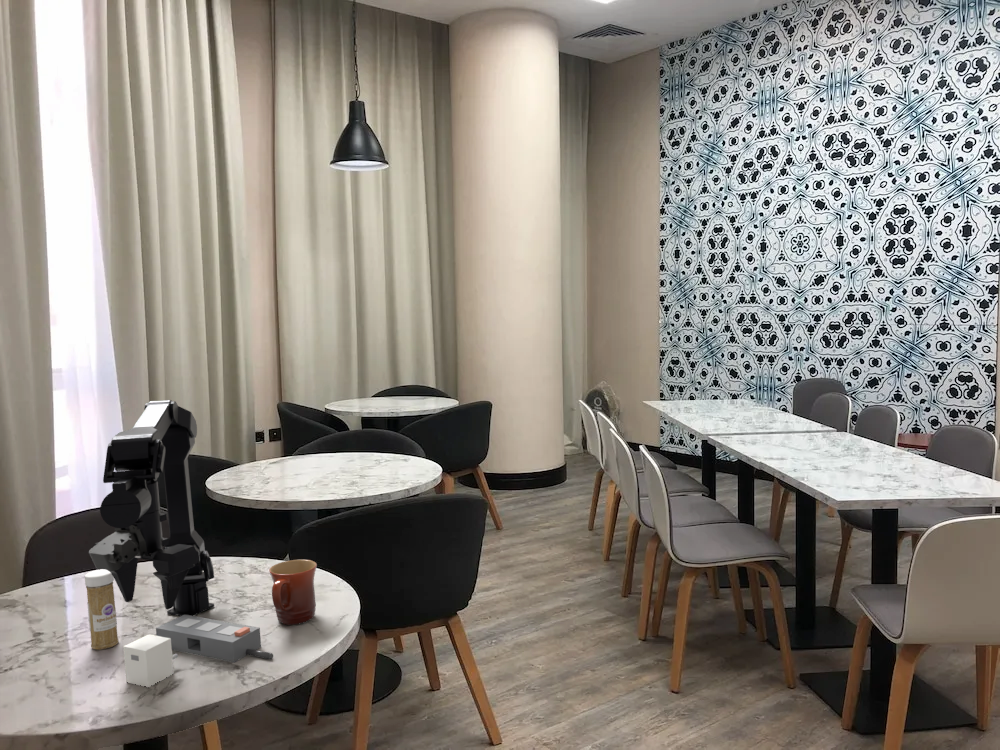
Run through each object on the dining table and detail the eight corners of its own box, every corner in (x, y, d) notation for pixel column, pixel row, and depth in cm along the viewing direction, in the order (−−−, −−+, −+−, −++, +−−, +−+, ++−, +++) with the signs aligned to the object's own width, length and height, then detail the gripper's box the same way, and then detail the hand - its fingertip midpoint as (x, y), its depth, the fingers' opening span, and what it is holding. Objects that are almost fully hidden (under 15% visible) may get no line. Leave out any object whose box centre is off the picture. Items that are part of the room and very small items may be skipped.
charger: (125, 682, 128) (122, 646, 127) (163, 663, 134) (160, 628, 134) (148, 687, 126) (145, 651, 125) (185, 667, 132) (182, 632, 132)
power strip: (157, 646, 141) (155, 624, 141) (186, 632, 147) (184, 611, 147) (259, 667, 131) (257, 643, 131) (285, 651, 137) (284, 628, 137)
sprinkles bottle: (105, 651, 140) (98, 577, 139) (84, 649, 142) (78, 575, 141) (124, 641, 145) (118, 569, 143) (104, 638, 146) (98, 567, 145)
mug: (286, 609, 157) (282, 558, 156) (327, 611, 155) (324, 559, 154) (255, 634, 145) (251, 579, 144) (300, 636, 143) (296, 581, 142)
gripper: (55, 519, 125) (65, 615, 126) (139, 530, 117) (148, 632, 118) (117, 502, 135) (125, 591, 136) (198, 510, 127) (205, 605, 128)
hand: (148, 604), depth 129 cm, fingers open, 9 cm apart
